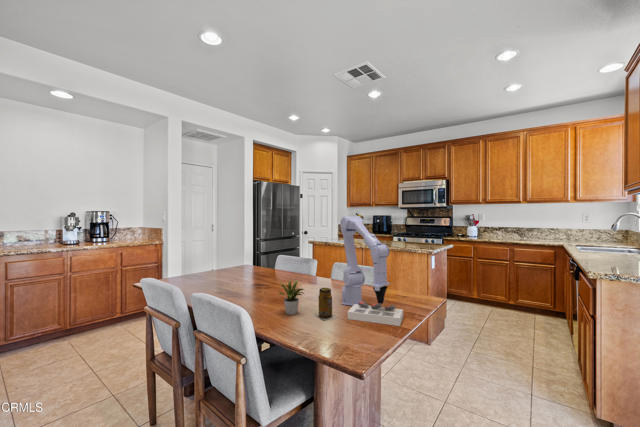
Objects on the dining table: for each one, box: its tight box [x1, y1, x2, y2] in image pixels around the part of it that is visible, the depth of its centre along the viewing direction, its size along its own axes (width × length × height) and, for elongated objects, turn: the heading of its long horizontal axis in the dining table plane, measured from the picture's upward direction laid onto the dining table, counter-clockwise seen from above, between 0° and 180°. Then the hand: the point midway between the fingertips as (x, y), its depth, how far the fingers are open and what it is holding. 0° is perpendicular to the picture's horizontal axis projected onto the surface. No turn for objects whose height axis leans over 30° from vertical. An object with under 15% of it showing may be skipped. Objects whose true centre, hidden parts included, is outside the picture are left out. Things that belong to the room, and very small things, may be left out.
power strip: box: [347, 304, 404, 327], centre depth 127 cm, size 22×15×4 cm
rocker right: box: [385, 304, 396, 311], centre depth 125 cm, size 4×3×2 cm
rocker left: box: [358, 301, 370, 308], centre depth 130 cm, size 4×3×2 cm
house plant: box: [277, 277, 305, 316], centre depth 132 cm, size 14×14×16 cm
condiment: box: [314, 287, 339, 321], centre depth 128 cm, size 7×8×12 cm
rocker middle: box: [370, 303, 383, 309], centre depth 127 cm, size 4×3×2 cm
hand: (380, 303), depth 127 cm, fingers closed
